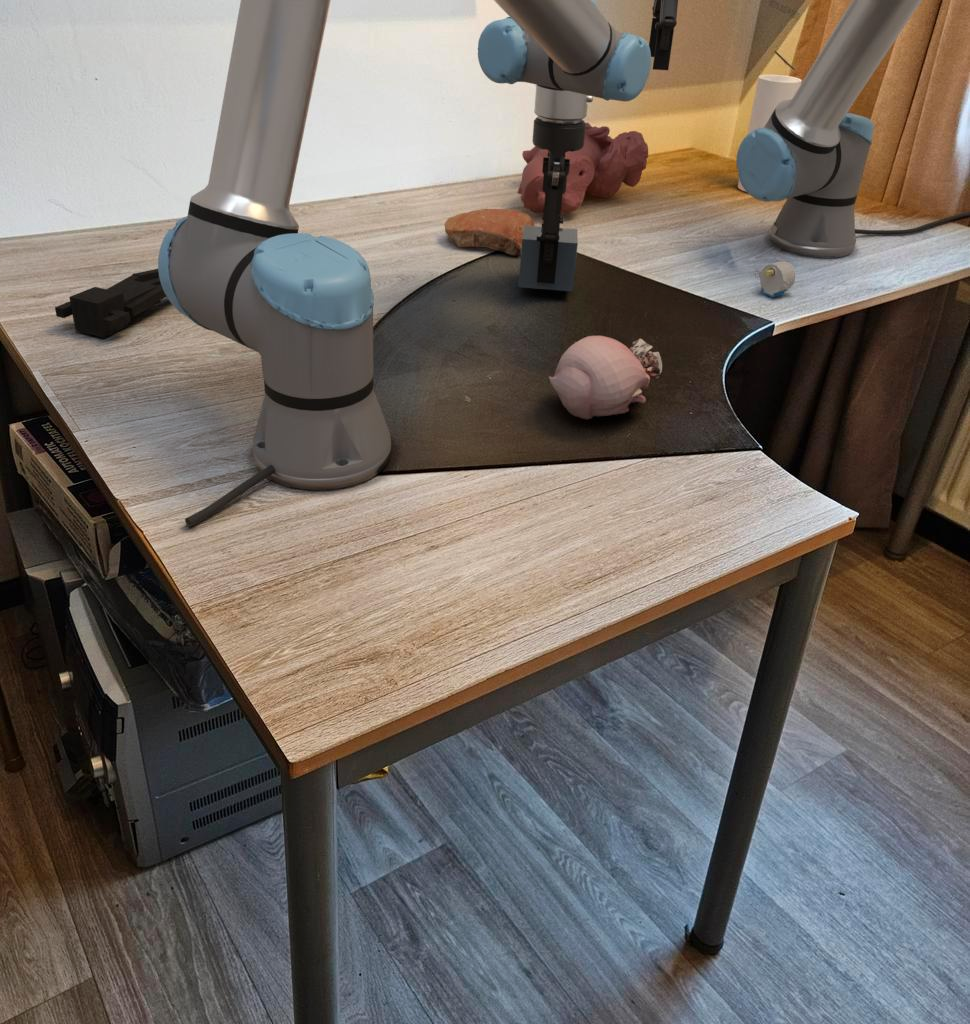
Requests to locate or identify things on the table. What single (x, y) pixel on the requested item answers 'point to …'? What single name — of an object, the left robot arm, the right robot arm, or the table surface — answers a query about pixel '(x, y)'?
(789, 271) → the electric motor
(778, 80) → the tall white tube
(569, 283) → the grey cube
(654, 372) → the toy
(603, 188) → the reddish clay animal figure
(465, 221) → the ceramic shard
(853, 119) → the right robot arm
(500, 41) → the left robot arm
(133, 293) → the toy
